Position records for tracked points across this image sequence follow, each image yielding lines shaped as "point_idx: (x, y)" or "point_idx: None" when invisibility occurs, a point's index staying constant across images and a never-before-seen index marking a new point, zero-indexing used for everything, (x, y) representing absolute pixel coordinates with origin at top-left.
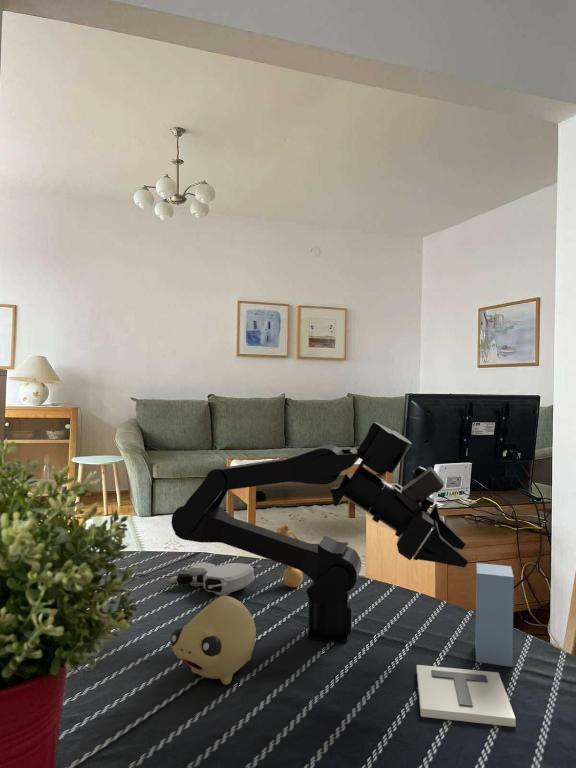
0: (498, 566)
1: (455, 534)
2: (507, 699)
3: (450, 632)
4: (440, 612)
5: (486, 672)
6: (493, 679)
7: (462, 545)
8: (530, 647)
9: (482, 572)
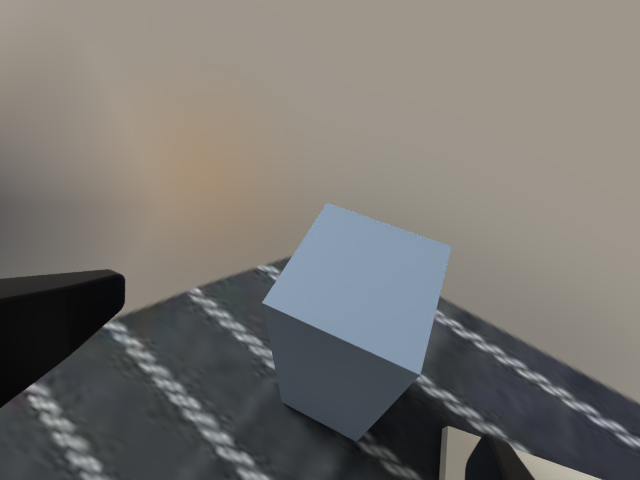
0: (323, 239)
1: (24, 293)
2: (574, 472)
3: (189, 433)
4: (63, 402)
5: (451, 459)
6: None
7: (114, 293)
8: None
9: (407, 341)
